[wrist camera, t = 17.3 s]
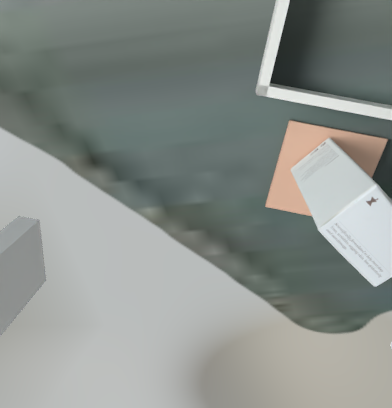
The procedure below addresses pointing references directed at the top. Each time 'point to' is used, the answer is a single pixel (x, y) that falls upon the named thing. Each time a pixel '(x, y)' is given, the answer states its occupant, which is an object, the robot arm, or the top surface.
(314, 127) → the tile
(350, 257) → the skincare box
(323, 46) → the top surface
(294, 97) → the bin
